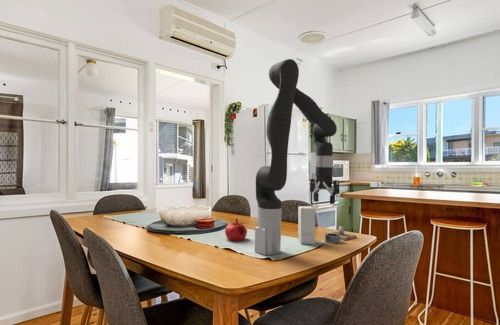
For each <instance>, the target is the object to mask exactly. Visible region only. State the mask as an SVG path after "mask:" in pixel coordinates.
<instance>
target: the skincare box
mask: <svg viewBox="0 0 500 325" xmlns="http://www.w3.org/2000/svg"><path fill="white" fill-rule="evenodd" d="M297 215H298V218H297V220H298V221H297V222H298V223H297V228H298V229H297V230H298V231H297V240H298V241H299V243H300V245H315V244H316V208H315V207H313V206H308V205H307V206H306V205H305V206H304V205H303V206H302V205H301V206H298V208H297Z"/></svg>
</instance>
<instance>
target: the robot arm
mask: <svg viewBox="0 0 500 325" xmlns="http://www.w3.org/2000/svg"><path fill="white" fill-rule="evenodd" d="M299 76H300V69H299V66H298V63H297V62H296V61H295V60H294V59H292V58H288V59H284V60H281V61H279V62H277V63H275V64H273V65H272V66H270V68H269V70H268V78H269V80H270V82H271V83H272V84H273V85H274V86H275V87H276V88H277V89H278V93H277V95H276V99H275V101H274V102H273V104H272V106H271V107H270V109H269V113H268V115H267V122H266V137H267V141H268V144H269V147H270V151H271V159H270V165H267V166H265V165H264V166H261V167H259V169H257V171H256V174H255V198H256V202H257V219H256V220H257V224H256V225H257V226H255V227H254V228H255V229H254V252H255V253H258V254H261V255H263V256H269V255H270V256H271V255H272V256H273V255H278V254H280V253H281V247H282V246H281V245H282V244H281V243H282V242H281V240H282V238H281V237H282V235H281V234H282V204H283V203H282V200H281V199H280V198H279V197H278V196H277V195H276V192H278V191H281V190H283V188H284V187H285V186H286V183H287V180H288V179H287V176H288V154H289V153H288V151H289V141H290V140H289V139H290V134H291V133H290V132H291V127H292V126H291V124H292V114H293V109H294V108H293V106H294V105H295V106H296V107H297V109H298V110H299V111H300V113H301V114H302V115H303V116H304V117H305V119H306V120H307V121H308V123H311V124H314V125H313V127H312V134H313V139H314V143H315V147H316V150H315V151H316V158H315V178H310V181H309V192H311V193H312V194H313V201H314V202H315V203H317V202H319V194H320V193H319V192H320V191H321V190H327V192H328V193H329V204H330V205H334V204H335V202H336V195H339V194H340V192H341V191H340V181H339V179H333V177H334V156H333V154H334V153H333V152H334V151H333V150H334V149H333V148H334V147H333V144H332V143H331V142H328V141H327V139H326V138H328V137H330V138H331V137H333V136H335V135H336V133H337V131H338V130H337V129H338V127H337V125H336V124H337V123H336V122H335V121H334V120H333V119H332V118H331V117H330V116H329V115H327V114H326V113H325V112H324V111H322V109H321V108H320V107H319V105H318V104H317V103H316V101H315V100H314V99H313V98H312V97H310V96H309V95H308V94H306V93H304V92H303V91H301V90H300V89H299V88H298V87H297V86H298V81H299Z"/></svg>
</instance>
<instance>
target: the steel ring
mask: <svg viewBox="0 0 500 325" xmlns="http://www.w3.org/2000/svg"><path fill="white" fill-rule="evenodd" d="M324 242H325V243H329V244H335V245H336V244H340V243H341V240H340V235H338V234H333V232H330V233H329V232H327V233H324Z"/></svg>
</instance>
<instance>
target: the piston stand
mask: <svg viewBox="0 0 500 325" xmlns="http://www.w3.org/2000/svg"><path fill="white" fill-rule="evenodd" d="M332 233H333V234H338V235H340V241H344V242H345V241H348V240H353V239H356V238H357V235H356V234H351V233H348V232H345V226H344V225H343V226H342V225H339V226H338V231H334V232H332Z"/></svg>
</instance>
